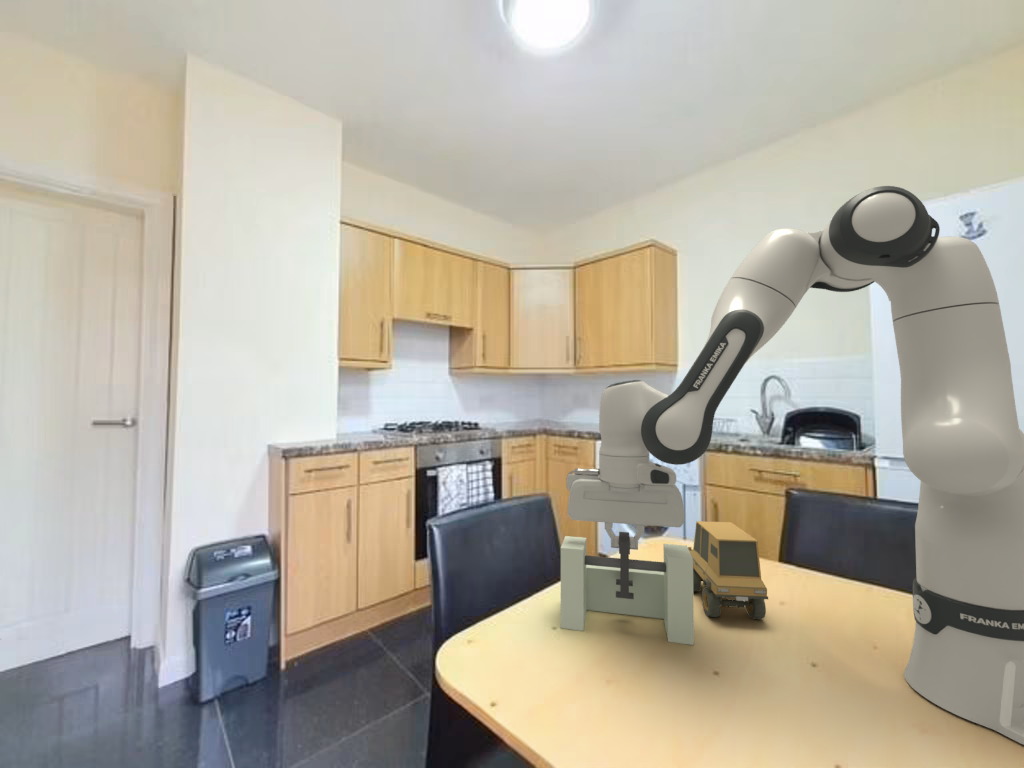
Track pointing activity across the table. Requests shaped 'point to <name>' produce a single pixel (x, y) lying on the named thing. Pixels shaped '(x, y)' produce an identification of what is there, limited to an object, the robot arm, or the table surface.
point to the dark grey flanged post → (624, 567)
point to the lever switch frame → (654, 588)
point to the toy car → (727, 569)
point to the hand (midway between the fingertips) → (624, 547)
